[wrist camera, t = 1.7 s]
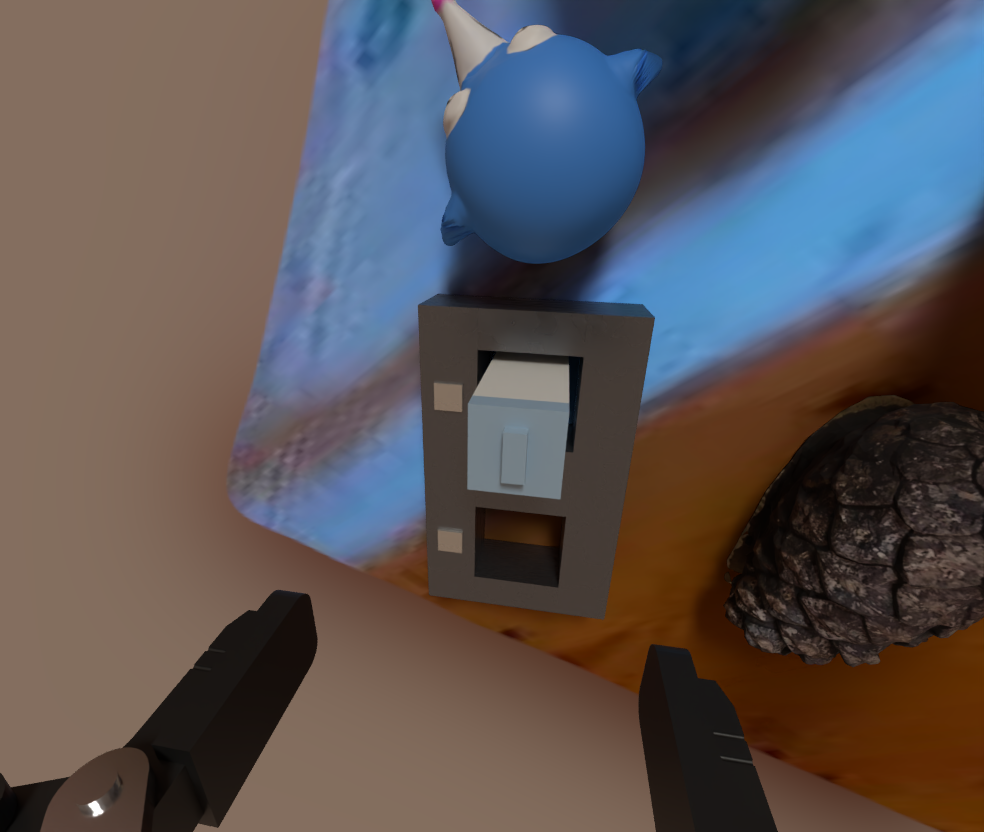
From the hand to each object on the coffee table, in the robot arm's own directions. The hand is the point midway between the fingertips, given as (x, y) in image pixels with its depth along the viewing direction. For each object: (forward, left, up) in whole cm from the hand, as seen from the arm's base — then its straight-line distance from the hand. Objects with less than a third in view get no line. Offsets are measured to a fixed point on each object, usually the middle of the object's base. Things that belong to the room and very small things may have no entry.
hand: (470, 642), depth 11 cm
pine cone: (-20, +7, -20) cm, 29 cm away
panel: (0, +5, -20) cm, 20 cm away
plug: (0, 0, -20) cm, 20 cm away
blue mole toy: (+1, -13, -20) cm, 24 cm away
